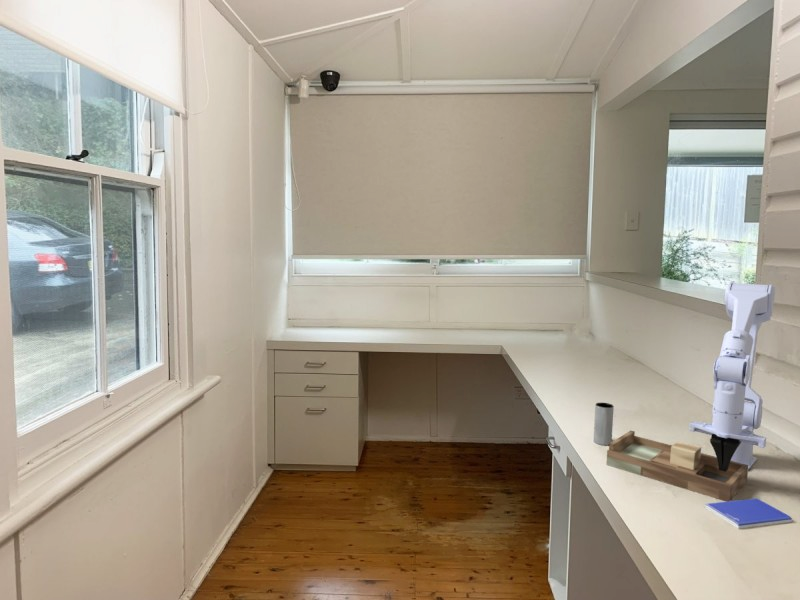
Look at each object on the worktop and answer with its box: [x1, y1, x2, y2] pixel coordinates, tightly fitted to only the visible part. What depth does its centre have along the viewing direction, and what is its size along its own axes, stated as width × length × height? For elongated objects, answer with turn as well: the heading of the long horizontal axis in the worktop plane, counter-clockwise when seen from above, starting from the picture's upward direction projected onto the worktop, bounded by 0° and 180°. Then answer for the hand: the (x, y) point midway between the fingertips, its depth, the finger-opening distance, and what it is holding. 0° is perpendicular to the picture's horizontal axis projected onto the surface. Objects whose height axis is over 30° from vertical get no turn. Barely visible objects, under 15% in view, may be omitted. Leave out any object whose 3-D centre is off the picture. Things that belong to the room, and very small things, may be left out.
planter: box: [593, 402, 615, 446], centre depth 143 cm, size 4×4×10 cm
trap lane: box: [605, 430, 749, 502], centre depth 125 cm, size 15×26×5 cm, turn 45°
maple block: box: [670, 441, 702, 470], centre depth 126 cm, size 5×5×4 cm
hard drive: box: [704, 498, 793, 530], centre depth 106 cm, size 2×8×12 cm
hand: (723, 469), depth 120 cm, fingers closed
